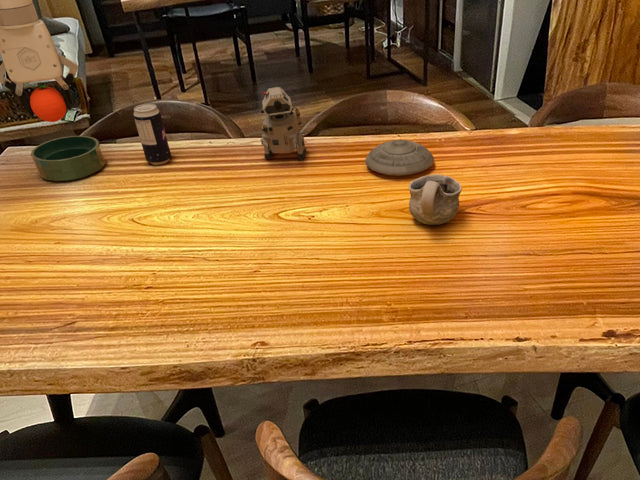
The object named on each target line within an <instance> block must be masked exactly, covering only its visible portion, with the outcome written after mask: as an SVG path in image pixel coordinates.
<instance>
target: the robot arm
mask: <svg viewBox="0 0 640 480" xmlns="http://www.w3.org/2000/svg"><path fill="white" fill-rule="evenodd" d="M0 56H1V59H2V63H1V64H0V84H1V85H2V86H4V87H5V88H7V89H8V90H9V91H11V92H13V93H14V94H15V95H17V96H18V97H19V99H20V102H21V105H22V108H23V109H24V111H27V113H28V115H29V116H33V115H34V114H35V113H34V112H33V110H32V109H31V105H30V95H29V93H28V91H27V90H25V88H24V87H25V83H34V82H41V81H51V80H54V81H56V82H57V84H58V85H59V86H60V87H61V89H60V93H61V94H62V96H63V98H64V101H65V104H66V107H67V110H68V111H72V108H73V106H72V105H74V98H73V96H72V93H71V90H70V86H71V84H72V82H73V81H74V79H75V76H76V74H77V72H78V70H79V65H78V64H77V63H76V62H74V61H72V60H71V59H70V58H68V57H65V56H64V55H62V54H60V53H59V52H58V50H57V47H56V44H55V42H54V40H53V37H52V35H51V34H50V31H49V30H48V27H47V25H46V23H45V22H44V20H42V19H39V16H38V13H37V9H36V8H35V4H34V2H33V0H0ZM63 66H65V67H66V68H68V72H67V74H66V76H64V75H63V70H64V69H63V68H64V67H63ZM6 73H7V76H8V78H7V77H6V76H5V74H6Z"/></svg>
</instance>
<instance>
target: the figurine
mask: <svg viewBox="0 0 640 480" xmlns="http://www.w3.org/2000/svg"><path fill="white" fill-rule="evenodd" d="M263 95H264V98H263V99H262V103H261V104H262V110H260V113H261V114H262V115H263V114H265V116H264V119H263V122H262V125H261V128H260V129H261V131H262V132H263V133H262V134H261V138H260V139H259V141H260V144H261V145H262V146H263V150H264V154H263V155H264V159H265V160H271V158H272V156H273V155H274V154H291V153H294V152H297V160H299V161H303V160H304V159H305V156H306V154H307V147H306V144H305V137H304V133H303V132H300V128H299V126H300V125H302V124H303V123H302V119H301V111H300V109H298V108H297V107H295V106H294V107H293V104H292V100H291V97H290V96H289V95H288V94H287V93H286V92H285V90H284V89H283V88H282V87H281V86H275V87H269V88H267V90H266V91H264V92H263ZM294 109H295V111H293V110H294Z"/></svg>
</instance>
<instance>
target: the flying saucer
mask: <svg viewBox="0 0 640 480" xmlns="http://www.w3.org/2000/svg"><path fill="white" fill-rule="evenodd" d="M434 162H435V158H434V155H433V154H432V152H431V151H430V150H429V149H428V148H427V147H426V146H424V145H422V144H421V143H418V142H416V141H413V140H409V139H392V140H388V141H385V142H382V143H380V144H378V145H377V146H375V147H374V148H372V149H371V150H370V151H369V153H368V154H367V155H366V157H365V160H364V163H365V165H366V166H367V167H368V168H369V169H370V170H372V171H373V172H376V173H379V174H382V175H385V176H386V175H387V176H396V177H397V176H411V175H415V174H419V173H422V172H423V171H425V170H427V169H429V168H431V166H432V165H433V164H434Z"/></svg>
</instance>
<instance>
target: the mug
mask: <svg viewBox="0 0 640 480" xmlns="http://www.w3.org/2000/svg"><path fill="white" fill-rule="evenodd" d="M408 190H409V194H410V197H409V202H408V209H409V213H410V215H411V216H412V217H413V219H415V220H416V221H417V222H419V223H421V224H422V225H429V226H439V225H444V224H446V223H448V222H451V221H452V220H453V219H454V218H455V217H456V216H457V213H458V212H459V209H460V195H461V192H462V191H463V186H462V185H461V184H460V182H459V181H457V180H456V179H455V178H453V177H451V176H449V175H444V174H428V175H423V176H420V177H418V178H416V179H415V178H414V179H413V180H412V181H410V183H409V184H408Z"/></svg>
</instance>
